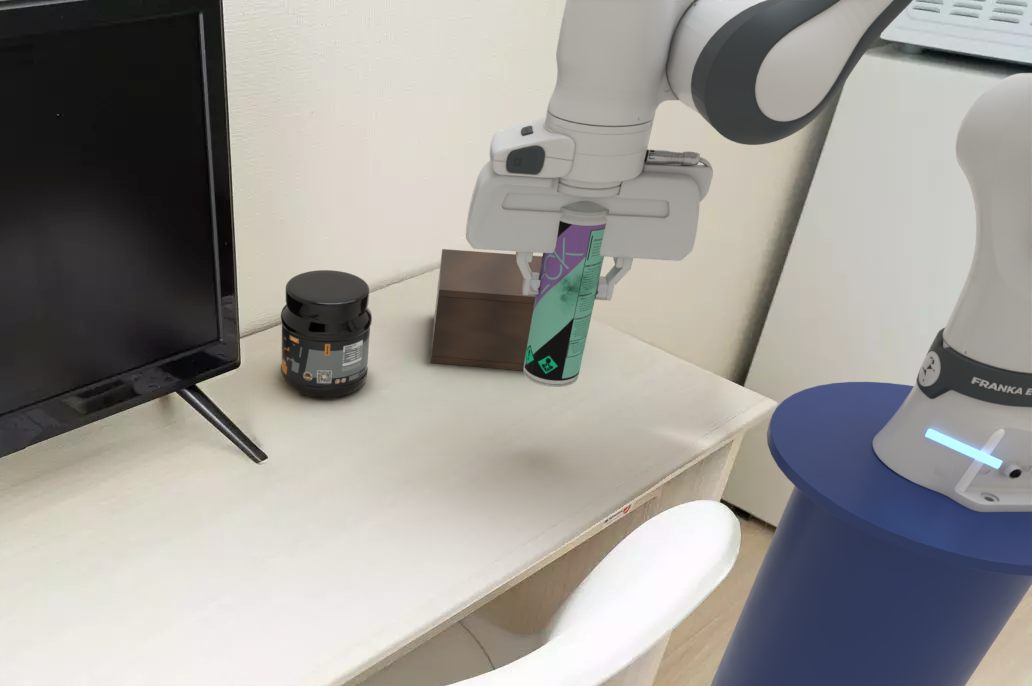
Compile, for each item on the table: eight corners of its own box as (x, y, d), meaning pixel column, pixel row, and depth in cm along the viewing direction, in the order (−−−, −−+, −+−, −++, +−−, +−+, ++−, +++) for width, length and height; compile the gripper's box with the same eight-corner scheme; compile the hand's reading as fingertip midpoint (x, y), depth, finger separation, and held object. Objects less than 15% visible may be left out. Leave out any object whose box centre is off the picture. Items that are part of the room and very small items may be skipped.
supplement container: (293, 353, 118) (295, 262, 110) (375, 365, 115) (382, 273, 108) (269, 393, 110) (269, 298, 102) (356, 407, 107) (363, 311, 100)
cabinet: (545, 327, 124) (559, 257, 119) (551, 373, 114) (566, 299, 108) (434, 318, 126) (442, 248, 120) (430, 362, 116) (439, 289, 110)
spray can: (545, 355, 97) (581, 161, 85) (589, 375, 94) (633, 176, 82) (511, 371, 95) (544, 173, 83) (555, 393, 91) (596, 189, 79)
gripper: (711, 142, 82) (672, 289, 90) (476, 132, 85) (459, 275, 93) (726, 164, 77) (683, 317, 85) (476, 153, 80) (458, 302, 88)
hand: (565, 295), depth 89 cm, fingers closed on spray can, 5 cm apart
